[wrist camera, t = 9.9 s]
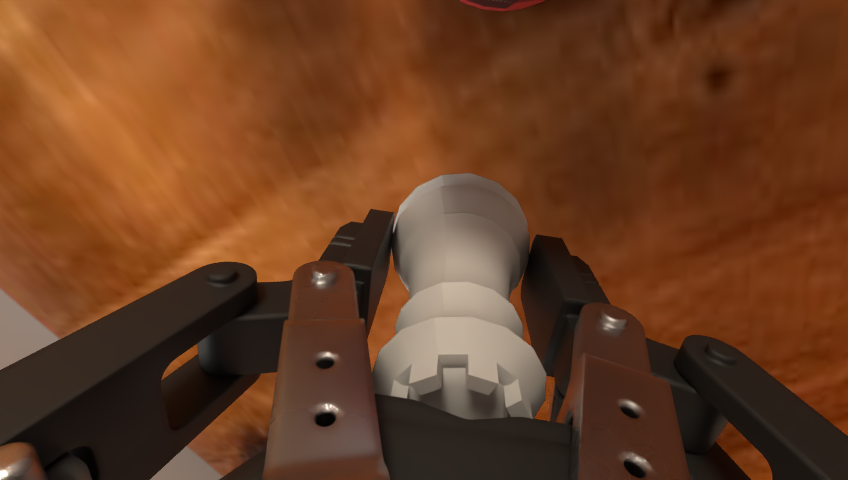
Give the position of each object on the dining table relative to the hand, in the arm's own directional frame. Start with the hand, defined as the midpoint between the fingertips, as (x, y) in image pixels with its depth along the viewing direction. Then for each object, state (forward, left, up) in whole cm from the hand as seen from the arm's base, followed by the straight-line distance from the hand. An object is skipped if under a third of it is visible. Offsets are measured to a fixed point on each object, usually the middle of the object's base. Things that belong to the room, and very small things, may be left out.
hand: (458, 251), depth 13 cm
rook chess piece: (0, 0, -2) cm, 2 cm away
